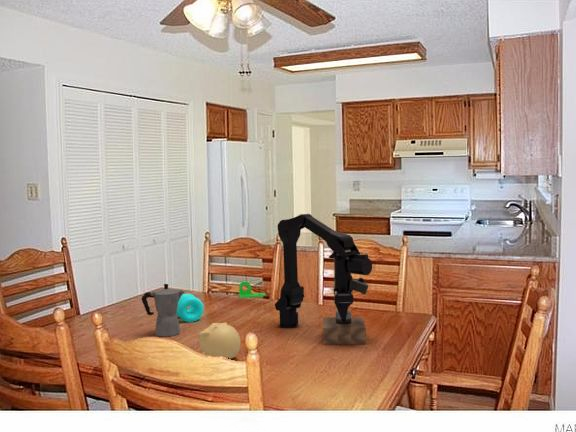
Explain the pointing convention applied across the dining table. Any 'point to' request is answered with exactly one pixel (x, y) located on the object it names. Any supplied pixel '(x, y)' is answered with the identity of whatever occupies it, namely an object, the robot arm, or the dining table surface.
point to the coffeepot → (165, 310)
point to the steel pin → (339, 320)
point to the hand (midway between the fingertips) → (343, 317)
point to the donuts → (193, 311)
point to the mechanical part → (248, 291)
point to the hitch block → (344, 331)
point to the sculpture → (220, 340)
